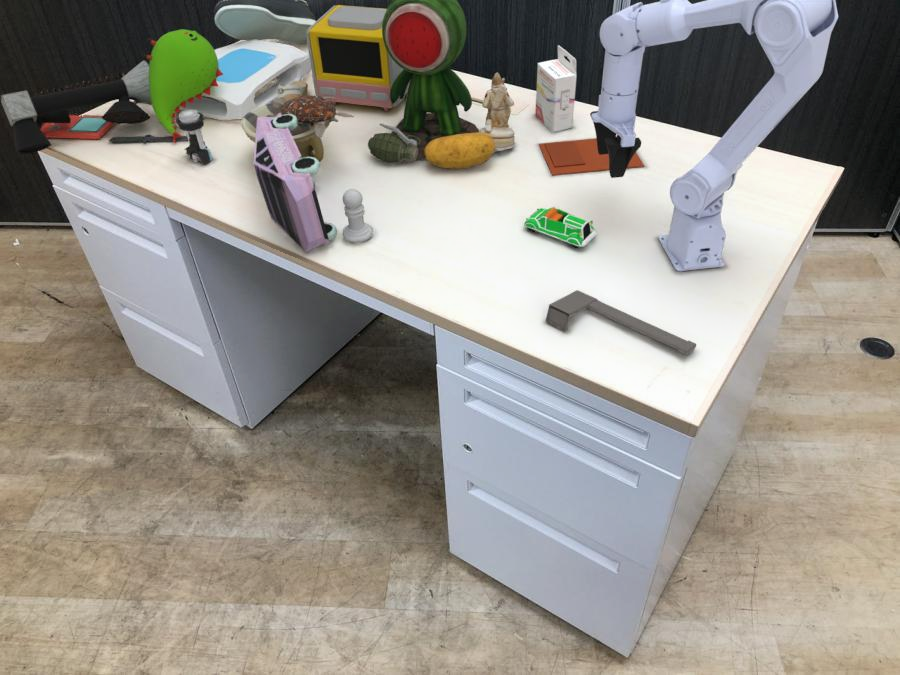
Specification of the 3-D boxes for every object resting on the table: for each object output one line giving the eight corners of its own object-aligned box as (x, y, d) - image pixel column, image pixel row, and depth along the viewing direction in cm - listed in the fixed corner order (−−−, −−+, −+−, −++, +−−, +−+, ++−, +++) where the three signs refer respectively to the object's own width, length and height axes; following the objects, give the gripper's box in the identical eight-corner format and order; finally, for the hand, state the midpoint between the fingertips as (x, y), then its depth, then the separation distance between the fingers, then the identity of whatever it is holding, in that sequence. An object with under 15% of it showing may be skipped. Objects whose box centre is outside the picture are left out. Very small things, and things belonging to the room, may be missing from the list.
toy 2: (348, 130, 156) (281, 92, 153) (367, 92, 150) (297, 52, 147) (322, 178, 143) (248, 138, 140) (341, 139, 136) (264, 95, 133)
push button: (177, 160, 155) (163, 114, 148) (196, 149, 158) (184, 103, 152) (201, 168, 152) (187, 122, 146) (220, 157, 156) (208, 111, 149)
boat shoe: (207, 33, 177) (193, -1, 178) (301, 54, 201) (288, 24, 202) (234, 3, 171) (220, -32, 172) (328, 28, 195) (315, -3, 196)
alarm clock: (314, 108, 170) (300, 24, 158) (342, 77, 181) (331, -3, 169) (397, 117, 166) (390, 31, 153) (420, 85, 177) (415, 3, 164)
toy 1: (168, 30, 164) (237, 48, 165) (146, 138, 166) (214, 155, 167) (147, 11, 151) (222, 31, 152) (123, 128, 153) (198, 147, 154)
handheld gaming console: (53, 113, 170) (117, 114, 168) (55, 118, 171) (118, 120, 169) (31, 132, 163) (97, 134, 162) (33, 137, 164) (99, 139, 162)
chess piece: (362, 246, 131) (356, 202, 125) (336, 238, 133) (329, 194, 127) (379, 230, 134) (374, 186, 128) (354, 223, 136) (347, 178, 130)
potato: (497, 172, 147) (493, 140, 142) (426, 179, 148) (420, 148, 144) (496, 152, 152) (493, 120, 148) (428, 158, 154) (423, 128, 149)
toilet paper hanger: (691, 359, 111) (697, 342, 109) (665, 380, 105) (671, 362, 104) (575, 305, 121) (578, 289, 120) (545, 321, 115) (549, 304, 114)
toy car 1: (344, 247, 131) (288, 265, 129) (310, 176, 148) (260, 190, 146) (326, 174, 120) (264, 192, 119) (291, 106, 138) (237, 121, 136)
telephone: (155, 132, 175) (15, 164, 161) (134, 77, 173) (-10, 105, 159) (168, 113, 162) (16, 146, 148) (146, 54, 160) (-11, 81, 146)
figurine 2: (506, 145, 159) (508, 69, 152) (520, 152, 153) (523, 73, 146) (473, 147, 157) (474, 70, 150) (485, 154, 151) (487, 74, 144)
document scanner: (167, 109, 172) (159, 82, 168) (242, 60, 190) (237, 35, 186) (243, 125, 165) (237, 98, 161) (314, 73, 183) (310, 47, 179)
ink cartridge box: (533, 115, 164) (536, 47, 154) (554, 111, 166) (558, 43, 156) (552, 133, 158) (556, 63, 148) (573, 128, 160) (579, 59, 150)
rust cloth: (644, 166, 148) (644, 164, 147) (552, 175, 146) (552, 172, 146) (625, 136, 156) (626, 134, 156) (538, 144, 155) (539, 142, 155)
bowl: (358, 154, 154) (352, 109, 148) (291, 193, 144) (282, 147, 138) (298, 129, 163) (291, 86, 156) (231, 164, 153) (220, 120, 146)
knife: (106, 141, 160) (111, 134, 162) (108, 145, 161) (112, 138, 163) (193, 139, 160) (196, 132, 162) (194, 142, 161) (197, 135, 163)
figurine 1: (376, 155, 154) (358, -1, 134) (410, 112, 168) (399, -35, 148) (457, 165, 149) (452, 6, 129) (485, 120, 163) (485, -30, 143)
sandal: (260, 120, 167) (256, 98, 163) (288, 89, 178) (284, 68, 175) (289, 122, 166) (285, 100, 162) (315, 91, 177) (311, 69, 173)
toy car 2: (597, 238, 131) (600, 217, 128) (582, 253, 128) (585, 231, 125) (537, 216, 136) (538, 195, 133) (521, 230, 133) (522, 209, 130)
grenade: (376, 114, 151) (424, 125, 149) (375, 148, 156) (421, 159, 154) (363, 126, 146) (412, 137, 144) (362, 161, 151) (410, 173, 149)
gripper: (583, 70, 126) (577, 145, 135) (607, 111, 115) (598, 189, 124) (625, 67, 126) (616, 142, 135) (653, 107, 116) (640, 185, 125)
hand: (610, 164), depth 130 cm, fingers open, 7 cm apart
